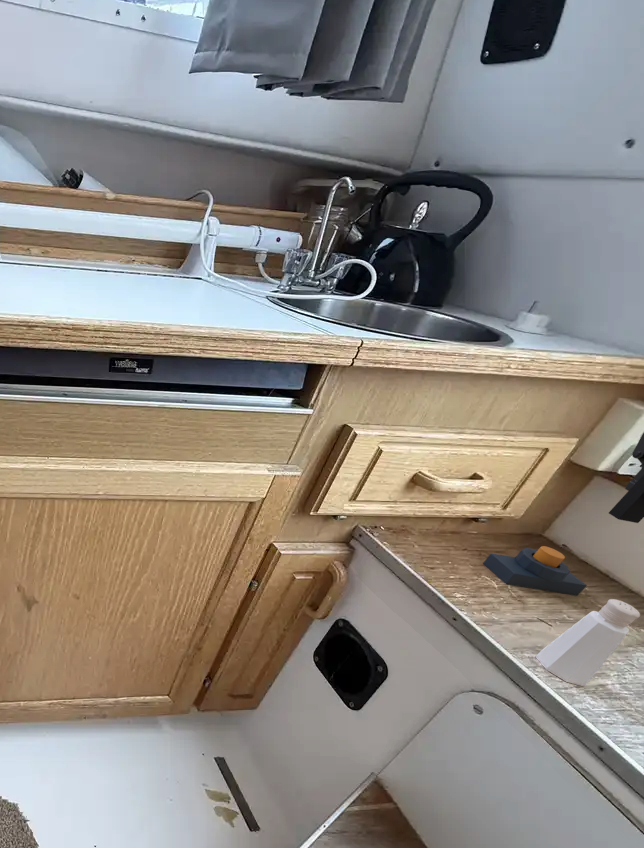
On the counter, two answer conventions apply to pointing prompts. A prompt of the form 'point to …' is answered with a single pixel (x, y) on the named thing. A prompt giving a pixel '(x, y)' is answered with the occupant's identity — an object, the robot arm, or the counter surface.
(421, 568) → the counter surface
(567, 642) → the salt shaker
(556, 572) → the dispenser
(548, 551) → the orange button cap
